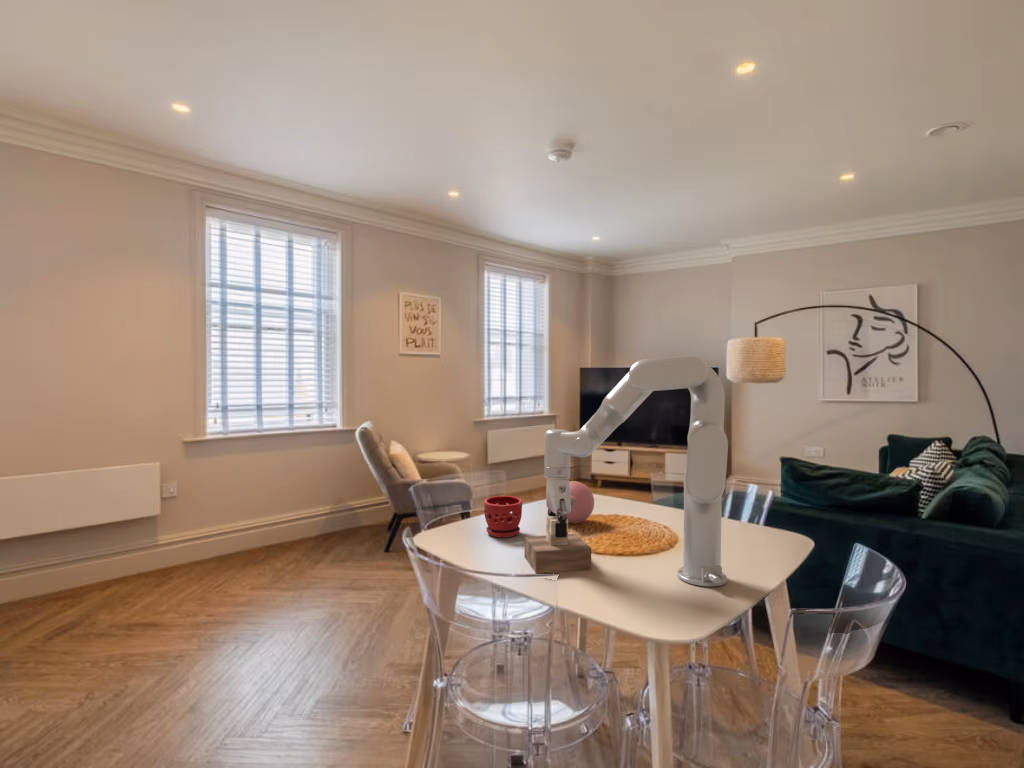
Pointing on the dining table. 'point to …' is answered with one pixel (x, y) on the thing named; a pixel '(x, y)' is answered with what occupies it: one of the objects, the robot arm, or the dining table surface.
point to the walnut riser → (557, 554)
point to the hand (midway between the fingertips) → (556, 532)
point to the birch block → (551, 532)
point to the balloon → (580, 502)
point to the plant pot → (503, 515)
